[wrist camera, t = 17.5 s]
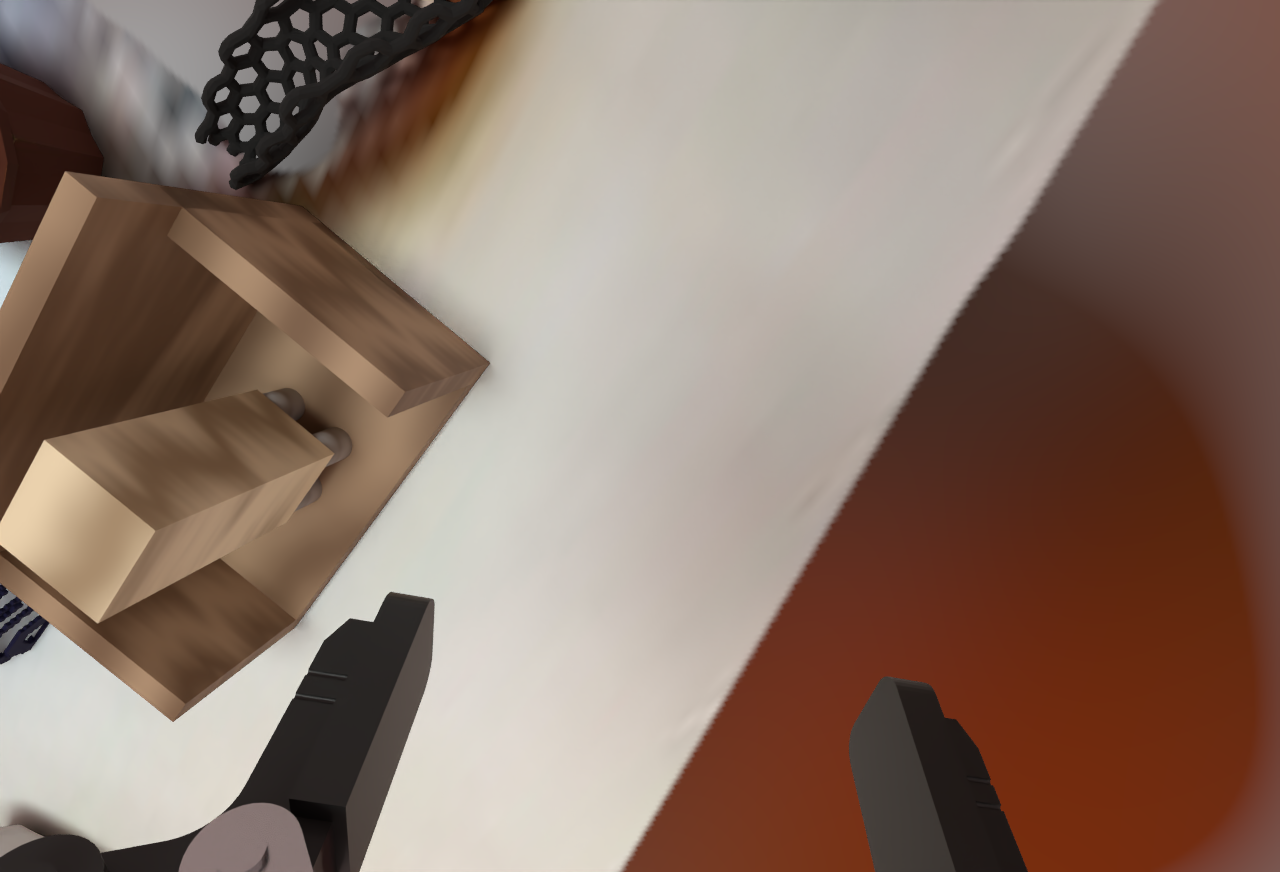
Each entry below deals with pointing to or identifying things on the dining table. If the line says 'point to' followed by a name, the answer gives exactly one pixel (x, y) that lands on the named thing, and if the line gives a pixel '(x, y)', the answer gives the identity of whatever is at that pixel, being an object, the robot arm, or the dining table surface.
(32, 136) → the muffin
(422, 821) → the dining table surface
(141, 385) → the peg frame
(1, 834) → the bottle
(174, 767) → the dining table surface
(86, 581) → the oak shelf block
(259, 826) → the robot arm
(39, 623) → the decorative bowl
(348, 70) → the decorative element
